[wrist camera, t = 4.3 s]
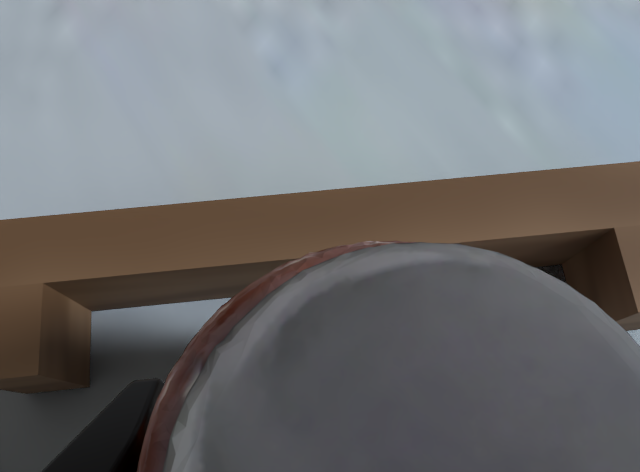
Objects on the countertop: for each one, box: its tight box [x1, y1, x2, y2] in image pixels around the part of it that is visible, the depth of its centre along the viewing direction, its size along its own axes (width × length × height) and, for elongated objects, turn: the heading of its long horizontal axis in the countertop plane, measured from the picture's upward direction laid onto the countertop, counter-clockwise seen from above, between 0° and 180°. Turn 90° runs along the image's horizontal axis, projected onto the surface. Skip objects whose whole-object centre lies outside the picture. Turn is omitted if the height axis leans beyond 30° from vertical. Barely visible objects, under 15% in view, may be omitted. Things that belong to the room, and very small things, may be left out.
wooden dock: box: [0, 161, 640, 394], centre depth 15 cm, size 4×16×3 cm, turn 96°
